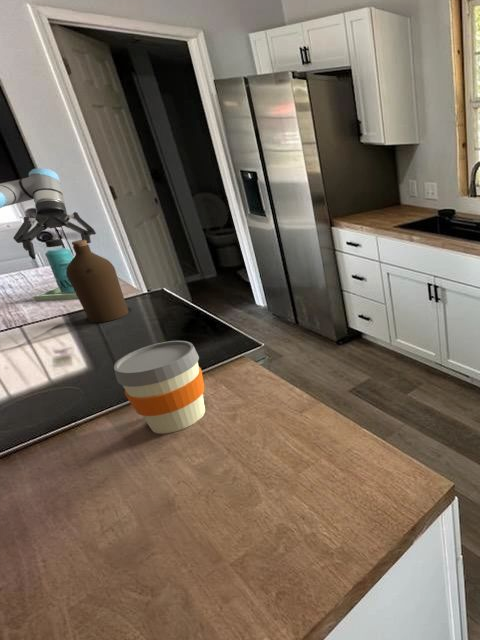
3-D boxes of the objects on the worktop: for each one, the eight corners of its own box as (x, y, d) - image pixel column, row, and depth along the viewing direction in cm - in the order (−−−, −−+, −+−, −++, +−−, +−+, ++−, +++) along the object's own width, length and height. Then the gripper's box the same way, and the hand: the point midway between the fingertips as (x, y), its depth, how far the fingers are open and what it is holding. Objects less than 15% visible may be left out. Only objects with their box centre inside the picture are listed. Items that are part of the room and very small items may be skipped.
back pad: (36, 302, 143) (33, 296, 142) (71, 288, 156) (68, 282, 155) (80, 300, 144) (77, 294, 144) (110, 286, 157) (107, 280, 156)
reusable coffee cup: (223, 416, 85) (202, 353, 80) (145, 450, 77) (116, 382, 71) (206, 392, 93) (186, 334, 88) (134, 420, 84) (107, 357, 79)
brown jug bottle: (139, 312, 135) (111, 238, 126) (101, 326, 125) (67, 247, 116) (117, 308, 138) (88, 235, 129) (78, 321, 129) (44, 244, 119)
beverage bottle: (57, 295, 148) (33, 241, 140) (79, 289, 154) (57, 237, 146) (70, 297, 146) (47, 242, 139) (92, 290, 152) (70, 238, 145)
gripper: (99, 207, 162) (110, 252, 157) (4, 216, 147) (13, 265, 142) (93, 195, 156) (104, 241, 151) (-6, 203, 142) (2, 254, 136)
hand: (60, 253), depth 147 cm, fingers open, 13 cm apart
